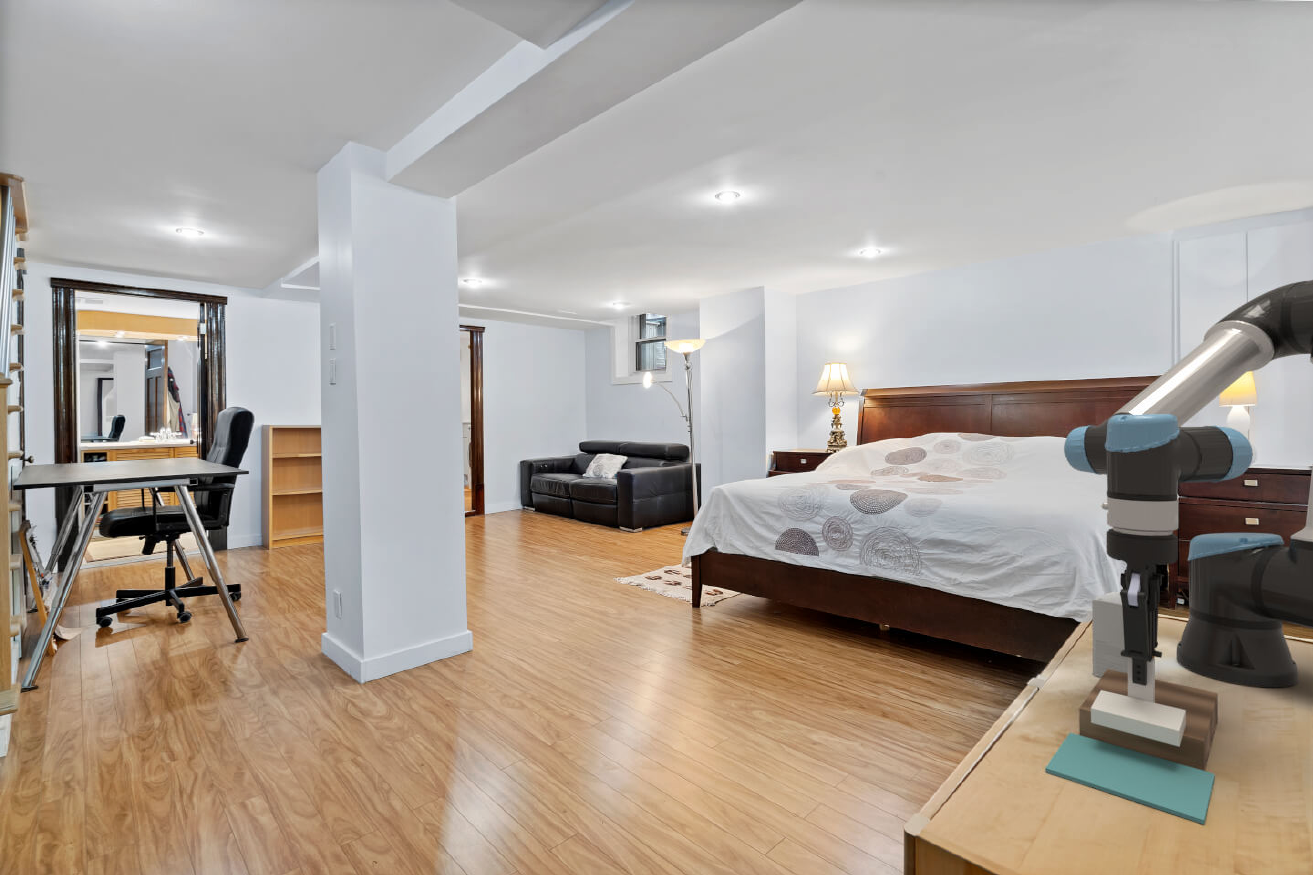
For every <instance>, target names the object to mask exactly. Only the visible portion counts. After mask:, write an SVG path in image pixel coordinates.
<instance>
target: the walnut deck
mask: <svg viewBox="0 0 1313 875" xmlns="http://www.w3.org/2000/svg"><path fill="white" fill-rule="evenodd" d="M1101 690H1103V691H1107V692H1111V693H1116V694H1120V695H1124V696H1128V673H1124V672H1119V671H1114V670H1110V669H1107V670H1106V671H1105V673H1104V674H1103V676H1102V677H1100V678H1099V679H1098V681H1097V682H1096V683H1095V686H1094V687H1093V688H1092V690H1091V691H1090V693H1088V696H1086V698H1085V699H1084V701H1083V702H1082V704H1081V705H1080V706H1079V709H1078V711H1079V712H1078V713H1079V714H1078V716H1079V717H1078V721H1079V722H1078V724H1079V727H1078V728H1079V734H1078V735H1081V736H1085V737H1088V738H1092V739H1095V740H1099V741H1102V742H1105V743H1109V744H1112V745H1116V746H1119V747H1123V748H1126V749H1130V750H1133V751H1137V752H1140V753H1144V754H1147V755H1151V756H1154V757H1158V758H1161V759H1165V760H1168V761H1172V762H1175V763H1179V764H1182V765H1186V766H1189V767H1193V768H1196V769H1200V770H1203V771H1206V768H1207V764H1208V761H1209V757H1210V753H1211V749H1212V745H1213V740H1214V737H1215V734H1216V729H1217V725H1218V722H1219V721H1218V719H1219V714H1218V713H1219V709H1218V706H1219V703H1218V700H1219V698H1218V695H1219V694H1218V692H1215V691H1210V690H1206V689H1201V688H1197V687H1191V686H1188V685H1183V684H1177V683H1173V682H1169V681H1164V680H1161V679H1156V678H1155V703H1157V704H1161V705H1166V706H1170V707H1174V708H1178V709H1182V710H1186V727H1185V730H1184V733H1183V737H1182V740H1181V743H1180V747H1179V746H1175V745H1171V744H1168V743H1164V742H1160V741H1157V740H1153V739H1149V738H1146V737H1142V736H1139V735H1135V734H1131V733H1128V732H1124V731H1120V730H1117V729H1113V728H1109V727H1106V726H1102V725H1098V724H1095V723H1091V707H1092V705H1093V703H1094V701H1095V700H1096V698H1097V696H1098V694H1099V693H1100V691H1101Z"/></svg>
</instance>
